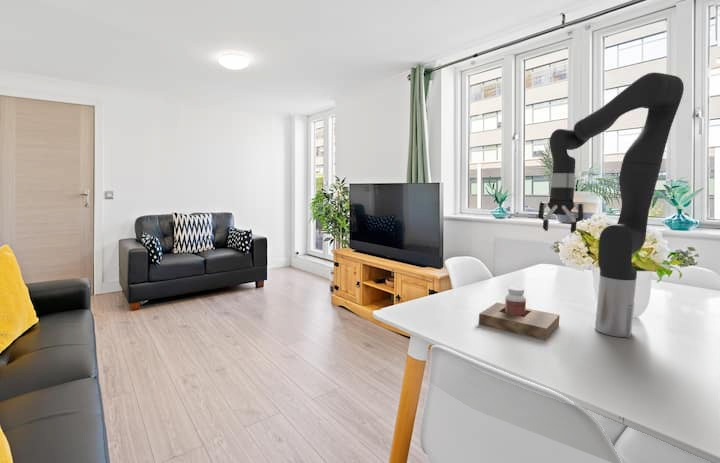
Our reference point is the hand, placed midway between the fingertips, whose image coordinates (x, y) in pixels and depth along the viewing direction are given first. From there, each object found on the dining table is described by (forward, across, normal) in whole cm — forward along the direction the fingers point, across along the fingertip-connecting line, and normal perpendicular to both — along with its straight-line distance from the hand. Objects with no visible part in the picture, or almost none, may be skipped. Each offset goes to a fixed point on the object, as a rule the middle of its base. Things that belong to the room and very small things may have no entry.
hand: (559, 231), depth 140 cm
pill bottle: (+28, -6, -26) cm, 39 cm away
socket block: (+28, -4, -28) cm, 40 cm away
